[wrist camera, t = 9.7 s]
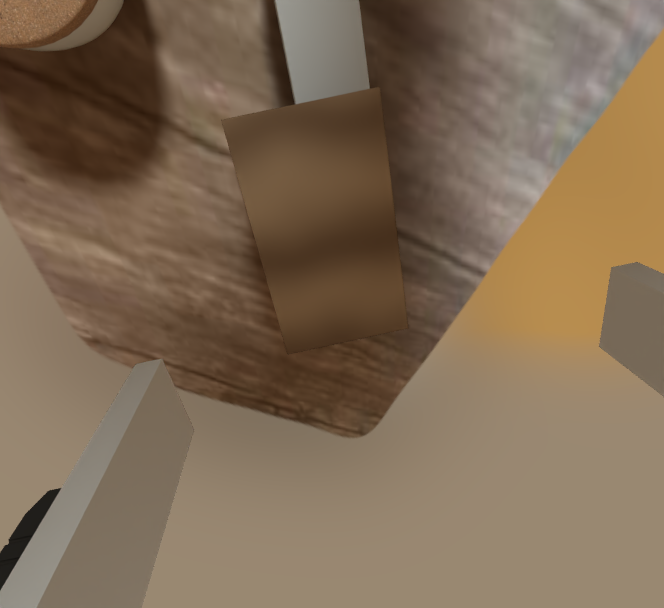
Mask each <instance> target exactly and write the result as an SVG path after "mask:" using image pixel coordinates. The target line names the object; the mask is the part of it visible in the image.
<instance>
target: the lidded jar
mask: <svg viewBox="0 0 664 608" xmlns="http://www.w3.org/2000/svg"><path fill="white" fill-rule="evenodd" d="M123 2H124V0H0V47H6V48H15V49H24V50H33V51H58V50H67V49H70V48H74V47H78V46H81V45H84V44H86V43H88V42H90V41H92V40H94V39H96V38H97V37H98V36H100V35H101V34H102V33H103V32H105V31H106V30H107V29H108V27H109V26H110V25H111V24H112V23H113V22H114V20H115V19H116V17H117V15H118V13H119V11H120V10H121V8H122V5H123Z"/></svg>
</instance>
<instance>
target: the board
mask: <svg viewBox="0 0 664 608" xmlns="http://www.w3.org/2000/svg"><path fill="white" fill-rule="evenodd" d="M221 121H222V125H223V128H224V132H225V135H226V139H227V142H228V146H229V150H230V153H231V157H232V160H233V164H234V167H235V171H236V174H237V178H238V181H239V185H240V188H241V192H242V195H243V199H244V202H245V206H246V210H247V213H248V217H249V220H250V224H251V227H252V231H253V234H254V238H255V241H256V245H257V248H258V252H259V255H260V259H261V262H262V266H263V270H264V273H265V277H266V280H267V284H268V287H269V291H270V294H271V298H272V301H273V305H274V308H275V312H276V315H277V319H278V322H279V326H280V330H281V333H282V337H283V340H284V344H285V347H286V351H287V354H292V353H296V352H301V351H306V350H310V349H315V348H320V347H324V346H329V345H334V344H338V343H343V342H348V341H352V340H357V339H362V338H366V337H371V336H376V335H380V334H385V333H390V332H394V331H399V330H404V329H408V320H407V312H406V303H405V295H404V286H403V278H402V269H401V261H400V253H399V244H398V236H397V227H396V219H395V210H394V202H393V194H392V185H391V177H390V168H389V160H388V151H387V143H386V135H385V126H384V118H383V109H382V101H381V92H380V87H376V88H371V89H366V90H361V91H357V92H352V93H347V94H342V95H337V96H333V97H328V98H323V99H318V100H314V101H309V102H304V103H299V104H295V105H290V106H285V107H280V108H276V109H271V110H266V111H261V112H257V113H252V114H247V115H242V116H238V117H233V118H228V119H223V120H221Z"/></svg>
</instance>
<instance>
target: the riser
mask: <svg viewBox="0 0 664 608" xmlns="http://www.w3.org/2000/svg"><path fill="white" fill-rule="evenodd" d="M274 4H275V9H276V14H277V19H278V24H279V29H280V34H281V39H282V44H283V49H284V54H285V59H286V64H287V69H288V74H289V79H290V84H291V89H292V94H293V99H294V104H299V103H304V102H309V101H314V100H318V99H323V98H328V97H333V96H337V95H342V94H347V93H352V92H357V91H361V90H366V89H370V86H369V78H368V70H367V62H366V54H365V45H364V37H363V29H362V21H361V13H360V5H359V0H274Z"/></svg>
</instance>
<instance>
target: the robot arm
mask: <svg viewBox="0 0 664 608" xmlns="http://www.w3.org/2000/svg"><path fill="white" fill-rule="evenodd" d="M599 347H600V348H601V349H603V350H604V351H605V352H607V353H608V354H609V355H611V356H612V357H613V358H614V359H616V360H617V361H618V362H619V363H621V364H622V365H623V366H625V367H626V368H627V369H629V370H630V371H631V372H632V373H634V374H635V375H636V376H638V377H639V378H640V379H642V380H643V381H644V382H645V383H647V384H648V385H649V386H651V387H652V388H653V389H654V390H656V391H657V392H658V393H660V394H661V395H662V396H664V274H663V273H661V272H658V271H656V270H654V269H652V268H649V267H647V266H645V265H643V264H640V263H638V262H635V263H630V264H626V265H621V266H616V267H612V268H611V273H610V279H609V286H608V293H607V299H606V305H605V312H604V319H603V325H602V331H601V338H600V344H599ZM193 432H194V429H193V426H192V424H191V422H190V420H189V417H188V415H187V413H186V411H185V408H184V406H183V404H182V402H181V399H180V397H179V395H178V393H177V391H176V388H175V386H174V384H173V382H172V379H171V377H170V375H169V373H168V370H167V368H166V366H165V364H164V362H163V359H158V360H153V361H148V362H143V363H138V364H135V366H134V368H133V369H132V371H131V373H130V374H129V376H128V378H127V379H126V381H125V383H124V384H123V386H122V388H121V389H120V391H119V393H118V394H117V396H116V398H115V400H114V401H113V403H112V404H111V406H110V408H109V410H108V411H107V413H106V415H105V416H104V418H103V420H102V421H101V423H100V425H99V426H98V428H97V430H96V431H95V433H94V435H93V437H92V438H91V440H90V441H89V443H88V445H87V446H86V448H85V450H84V452H83V453H82V455H81V457H80V458H79V460H78V461H77V463H76V465H75V466H74V468H73V470H72V472H71V473H70V475H69V477H68V478H67V480H66V482H65V483H64V485H63V487H62V488H59V489H54V490H50V491H48V492H47V493H46V494H45V495H44V496H43V497H42V498H41V499H40V500H39V501H38V502H37V503H36V504H35V505H34V506H33V507H32V508H31V509H30V510H29V511H28V512H27V513H26V514H25V516H24V517H23V519H22V520H21V522H20V523H19V525H18V526H17V528H16V529H15V531H14V532H13V534H12V535H11V537H10V539H9V544H8V545H5V546H4V548H3V549H2V551H1V553H0V608H142V605H143V601H144V598H145V594H146V591H147V588H148V584H149V581H150V578H151V574H152V571H153V567H154V564H155V560H156V557H157V554H158V550H159V547H160V543H161V540H162V537H163V533H164V530H165V527H166V523H167V520H168V516H169V513H170V510H171V506H172V503H173V499H174V496H175V492H176V489H177V486H178V483H179V479H180V476H181V472H182V469H183V465H184V462H185V459H186V455H187V452H188V449H189V445H190V442H191V438H192V435H193Z"/></svg>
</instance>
